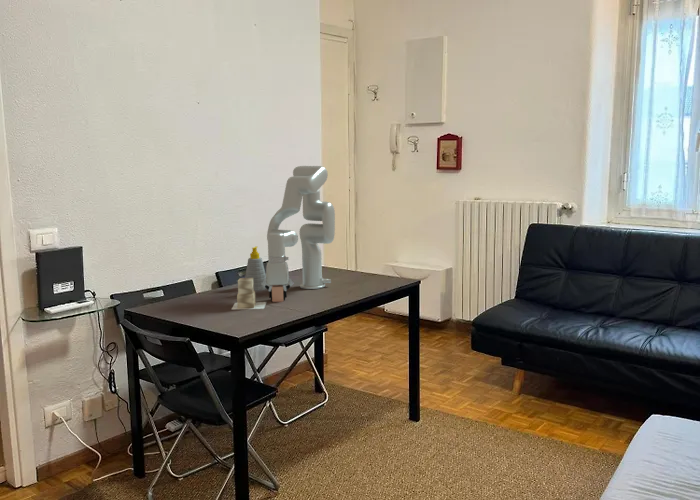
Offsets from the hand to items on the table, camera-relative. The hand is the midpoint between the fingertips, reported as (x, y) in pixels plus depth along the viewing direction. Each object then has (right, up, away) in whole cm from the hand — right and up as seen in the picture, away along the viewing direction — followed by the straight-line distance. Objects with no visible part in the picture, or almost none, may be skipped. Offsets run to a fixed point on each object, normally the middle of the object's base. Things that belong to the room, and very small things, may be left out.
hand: (278, 299), depth 290 cm
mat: (-12, -3, -9) cm, 15 cm away
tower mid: (-13, +4, -11) cm, 17 cm away
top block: (0, -1, 0) cm, 1 cm away
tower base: (-13, -2, -10) cm, 16 cm away
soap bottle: (-14, +3, +28) cm, 32 cm away
